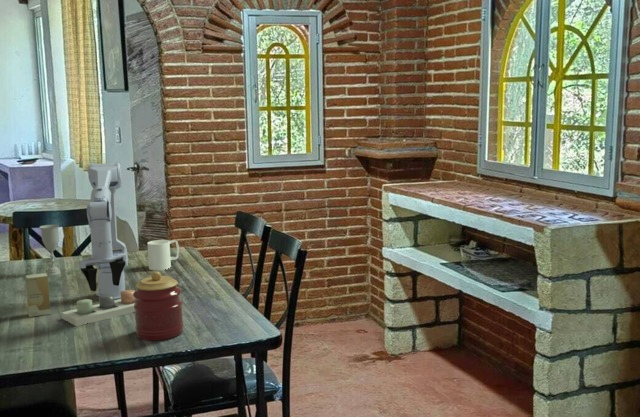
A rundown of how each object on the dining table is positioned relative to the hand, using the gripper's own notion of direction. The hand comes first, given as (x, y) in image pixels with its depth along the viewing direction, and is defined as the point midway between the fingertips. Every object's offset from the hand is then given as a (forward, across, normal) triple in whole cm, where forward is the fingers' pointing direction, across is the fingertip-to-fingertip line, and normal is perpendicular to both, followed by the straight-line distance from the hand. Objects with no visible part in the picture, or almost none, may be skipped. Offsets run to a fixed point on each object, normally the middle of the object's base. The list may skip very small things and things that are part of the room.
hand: (104, 287), depth 209 cm
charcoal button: (+7, +4, +5) cm, 10 cm away
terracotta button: (+7, +10, +4) cm, 13 cm away
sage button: (+7, -3, +6) cm, 10 cm away
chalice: (+8, +20, +66) cm, 69 cm away
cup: (+8, +50, +38) cm, 64 cm away
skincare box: (+10, -9, +22) cm, 26 cm away
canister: (+10, +2, -23) cm, 25 cm away
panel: (+9, +4, +5) cm, 11 cm away
